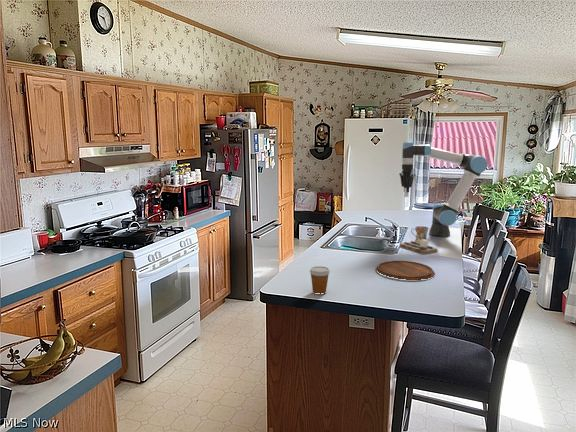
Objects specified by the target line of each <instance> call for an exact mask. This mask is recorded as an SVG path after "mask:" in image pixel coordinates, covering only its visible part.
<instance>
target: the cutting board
mask: <svg viewBox="0 0 576 432" xmlns="http://www.w3.org/2000/svg"><path fill="white" fill-rule="evenodd" d="M376 270H377V271H378V272H379V273H381V274H383V275H386V276H389V277H394V278H398V279H406V280H421V279H428V278H431V277H433V276H434V275H435V276H436V274H435V271H434V269H433V268H432V267H430V266H429V265H426V264H423V263H421V262H420V263H419V262H415V261H409V260H389V261H384V262H381V263H379V264H378V265H377V266H376V267H375V271H376ZM435 276H434V277H435ZM434 277H433V278H434ZM431 279H432V278H431Z"/></svg>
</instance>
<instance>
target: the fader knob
mask: <svg viewBox="0 0 576 432" xmlns="http://www.w3.org/2000/svg"><path fill="white" fill-rule="evenodd" d="M420 246H421V247H425V248H428V246H429V239H428V238H427V239H422V240H420Z"/></svg>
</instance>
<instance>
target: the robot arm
mask: <svg viewBox="0 0 576 432" xmlns="http://www.w3.org/2000/svg"><path fill="white" fill-rule="evenodd" d="M401 156H402V159H401V160H402V161H401V162H402V164H401V170H402V171H401V172H400V173H399V177H400V183H401V187H403V192H404V194H403V196H404V198H408V197H409V192H410V188H412V187H413V184H414V183H413V182H414V179H415V176H416V174H415V173H413V168H414V156H421V157H426V158H429V159H434V160H438V161H443V162H446V163H450V164H454V165H457V167H460V168H463V174H462V176H461V178H460V179H459V181H458V182H457V184H456V186H455V188H454V190H453V191H452V193H451V195H450V197H449V198H448V200H447V202H444V203H443V204H433V206H432V221H431V225H430V228H429V229H428V235H431V236H435V237H440V238H442V237H450V236H451V231H450V227H449V226H452V225H454V224H455V223H456V222H457V219H458V217H457V216H458V213H459V212H460V210H459V207H460V206H461V204H462V202H463V200H464V199H465V197H466V196H467V194H468V192H469V190H470V189H471V187H472V186H473V183H474V181H475V180H476V179H477V178H479V177H480V176H481V174H482V173H484V172H485V171H486V169H487V168H488V160H487V159H486V157H485V156H482V155H479V154H477V155H476V154H467V153H462V152H461V153H460V154H459V153H457V152H452V151H448V150H444V149H439V148H436V147H433V146H431V144H422V143H421V144H419V143H416V144H415V142H413V141H404V142H402V155H401Z"/></svg>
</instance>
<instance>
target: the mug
mask: <svg viewBox="0 0 576 432" xmlns="http://www.w3.org/2000/svg"><path fill="white" fill-rule="evenodd" d="M413 230H414V231H415V233H416V234H414V232H413ZM429 230H430V228H429V227H428V226H423V225H420V226H419V225H418V226H415V227H414V228H412V229H411V233H412V235H413V236H414V237H415V239H414V242H418V243H420V240H422V239H427V240H428V238H427V235H428V232H429Z"/></svg>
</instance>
